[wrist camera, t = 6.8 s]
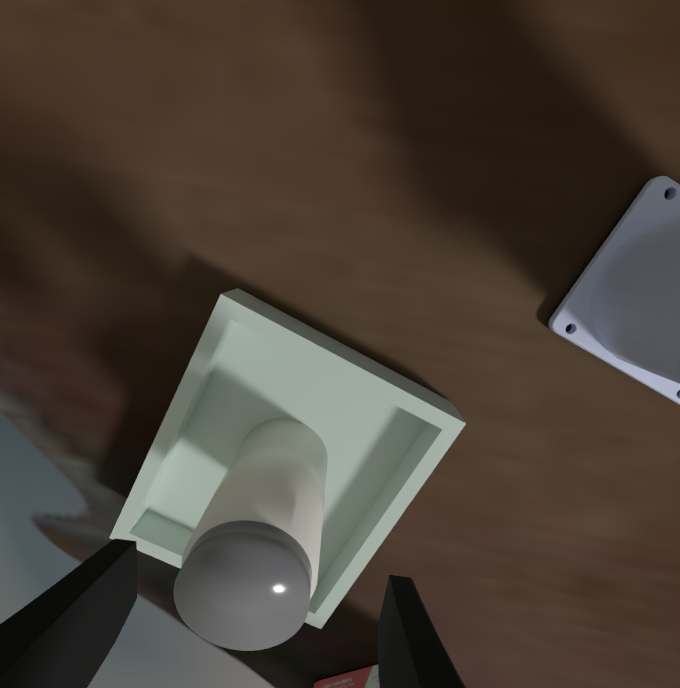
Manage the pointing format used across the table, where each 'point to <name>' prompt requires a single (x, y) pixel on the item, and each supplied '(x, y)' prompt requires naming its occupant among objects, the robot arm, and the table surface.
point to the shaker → (258, 542)
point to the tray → (299, 405)
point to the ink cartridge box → (352, 679)
